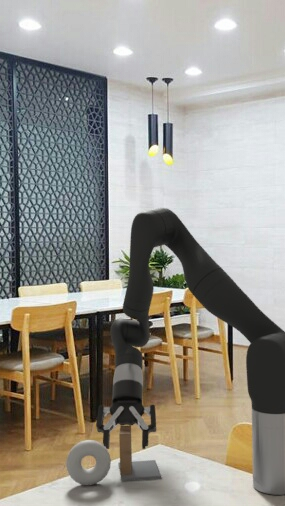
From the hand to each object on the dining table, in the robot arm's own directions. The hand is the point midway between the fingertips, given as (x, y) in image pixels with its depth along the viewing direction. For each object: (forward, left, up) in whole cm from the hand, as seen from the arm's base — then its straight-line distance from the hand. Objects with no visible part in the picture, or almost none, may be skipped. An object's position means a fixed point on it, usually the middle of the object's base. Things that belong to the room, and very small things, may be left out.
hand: (125, 447), depth 141 cm
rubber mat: (-3, -1, -6) cm, 7 cm away
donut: (+9, +4, -7) cm, 12 cm away
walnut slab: (0, -1, -6) cm, 6 cm away
